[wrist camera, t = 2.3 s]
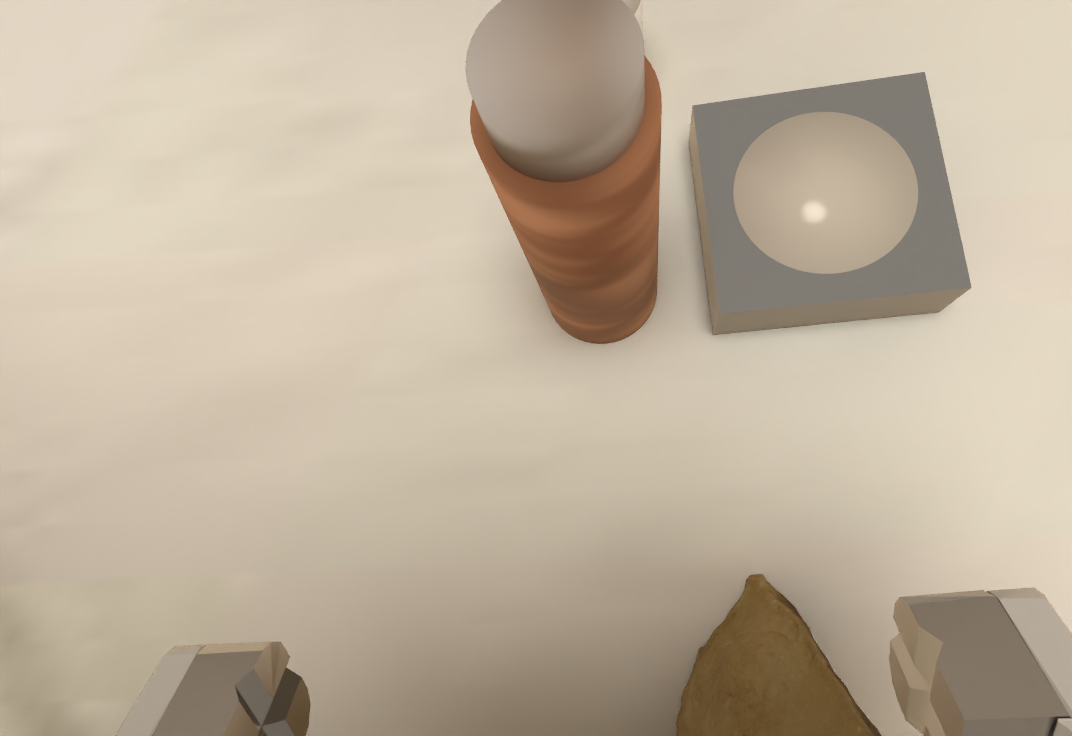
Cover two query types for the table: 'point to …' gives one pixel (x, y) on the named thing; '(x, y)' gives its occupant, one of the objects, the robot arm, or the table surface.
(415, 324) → the table surface
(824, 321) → the plinth
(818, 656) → the rock
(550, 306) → the pepper mill
